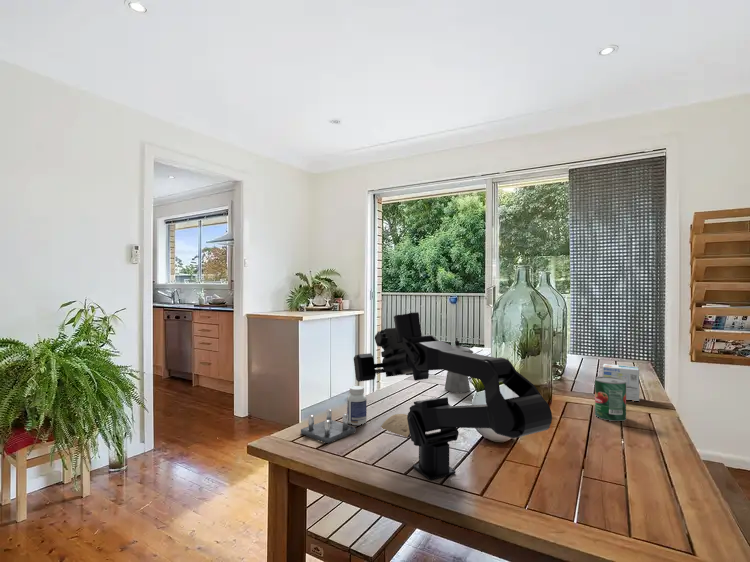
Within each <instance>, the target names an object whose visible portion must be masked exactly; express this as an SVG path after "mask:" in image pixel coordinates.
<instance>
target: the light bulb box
mask: <svg viewBox="0 0 750 562" xmlns="http://www.w3.org/2000/svg"><path fill="white" fill-rule="evenodd" d="M602 377H614V378H619V379H623V380H625V381H626V399H627V400H634V401H639V402H640V395H641V394H640V369H639V366H632V365H621V364H611V363H610V364H609V363H604V364H602ZM634 401H633V402H634Z"/></svg>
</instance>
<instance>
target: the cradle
mask: <svg viewBox="0 0 750 562" xmlns="http://www.w3.org/2000/svg"><path fill="white" fill-rule="evenodd" d="M332 412H333V411H332V408H327V409H326V414H325V415H326V419H325V420H323V421H320V422H318V423H315V415H314V414H308V426H306V427H303V428H300V435H303V436H305V435H306V436H305V437H307V438H311V439H313V438H314V440H316V441H318V440H319V441H318V442H321V441H322V442H321V443H324V442H325V443H324V444H326V443H328V444H330V443H333V442H335V441H337V439H338V440H340V439H343V438H345V437H347V435H348V436H350V435H353V434H355V433H356V432H357V431H356V427H355V426H353V425H350V424H349V423H348V414H347V413H342V422H340V421H336V420H333V419H332V417H333V416H332V415H333V413H332ZM354 432H355V433H354ZM352 433H353V434H352ZM349 434H350V435H349ZM344 436H345V437H344ZM342 437H343V438H342ZM339 438H340V439H339ZM334 440H335V441H334ZM332 441H333V442H332Z"/></svg>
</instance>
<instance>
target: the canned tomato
mask: <svg viewBox="0 0 750 562" xmlns="http://www.w3.org/2000/svg"><path fill="white" fill-rule="evenodd" d="M595 415H596V416H597V417H599V418H601V419H600V420H602V419H604V420H603V421H605V420H609V421H608V422H611V421H624V422H626V421H627V401H626V381H625V380H623V379H619V378H614V377H603V376H597V377H594V416H595ZM596 416H595V417H596ZM597 417H596V418H597ZM599 418H598V419H599ZM625 420H626V421H625Z"/></svg>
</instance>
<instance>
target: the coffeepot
mask: <svg viewBox="0 0 750 562" xmlns="http://www.w3.org/2000/svg"><path fill="white" fill-rule="evenodd" d="M454 343H455V345H451V346H452V348H453V349H455V350H458V351H463V352H469V353H474V351H473V350H471V349H470V348H468V347H465V346H462V345H460V341H459V340H455V342H454ZM446 372H447V373H446V376H445V379H446V380H445V384H444V390H445V391H447V392H450V393H454V392H459V394H461V393H460V392H465V393H468V392H470V390H471V387H470V381H469V377H468V376H464V375H461V374H457V373H453V372H450V371H446ZM467 391H468V392H467Z"/></svg>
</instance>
